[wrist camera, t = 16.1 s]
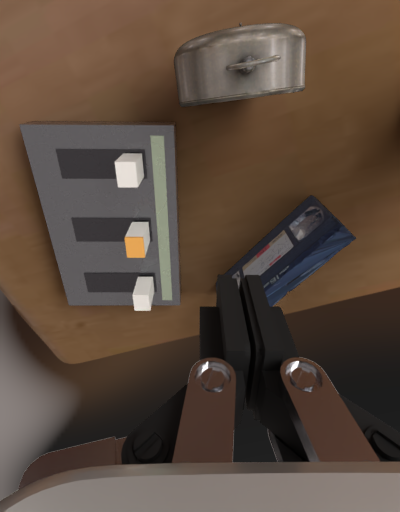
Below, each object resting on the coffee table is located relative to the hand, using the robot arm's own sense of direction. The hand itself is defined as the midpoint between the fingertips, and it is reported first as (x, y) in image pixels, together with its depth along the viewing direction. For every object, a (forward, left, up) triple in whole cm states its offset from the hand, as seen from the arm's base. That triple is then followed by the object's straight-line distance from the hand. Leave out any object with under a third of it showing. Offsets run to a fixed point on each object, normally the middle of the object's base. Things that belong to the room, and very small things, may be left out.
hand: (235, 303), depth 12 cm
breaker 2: (+8, +16, -24) cm, 30 cm away
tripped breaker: (+8, +8, -24) cm, 26 cm away
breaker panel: (+12, +8, -27) cm, 31 cm away
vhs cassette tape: (-8, +12, -27) cm, 31 cm away
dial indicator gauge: (-2, -9, -27) cm, 29 cm away
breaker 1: (+9, 0, -24) cm, 25 cm away
